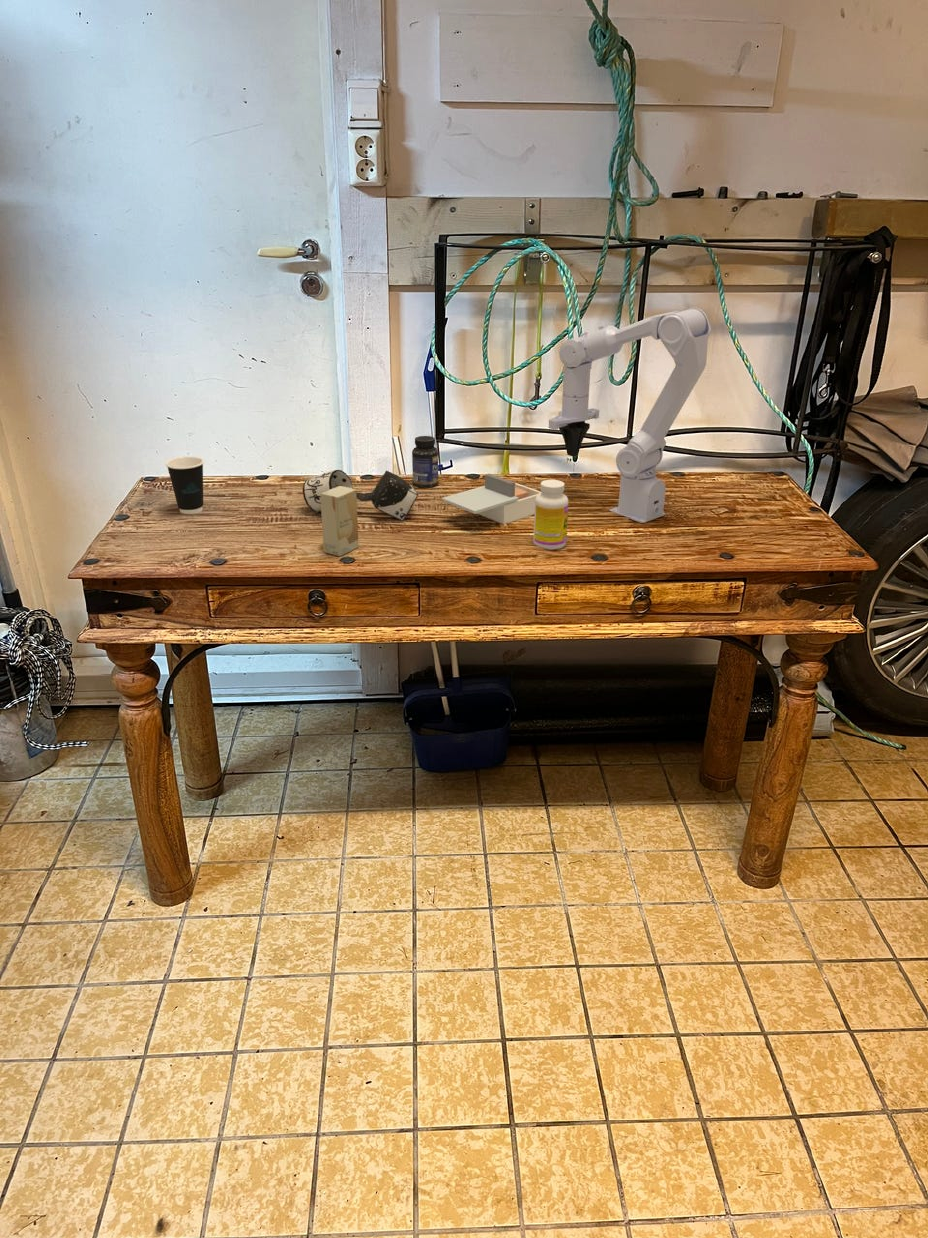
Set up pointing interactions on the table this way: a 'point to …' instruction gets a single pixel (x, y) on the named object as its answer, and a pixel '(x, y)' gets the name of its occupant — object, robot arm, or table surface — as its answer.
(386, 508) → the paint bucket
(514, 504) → the box
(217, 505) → the table surface
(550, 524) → the supplement bottle
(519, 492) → the terracotta block
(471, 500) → the lid
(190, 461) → the dixie cup
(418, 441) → the pill bottle
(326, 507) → the skincare box
